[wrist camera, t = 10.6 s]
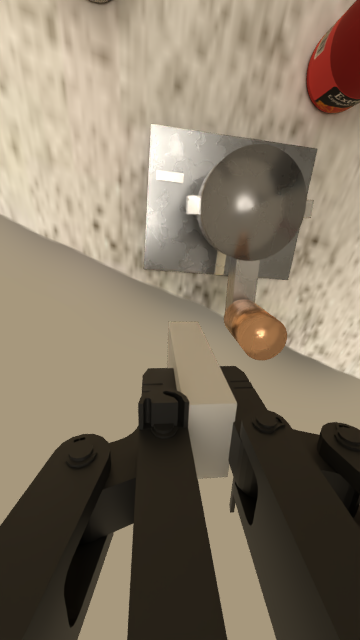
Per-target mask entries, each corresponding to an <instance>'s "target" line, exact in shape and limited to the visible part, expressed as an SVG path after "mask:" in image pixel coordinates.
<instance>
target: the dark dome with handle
mask: <svg viewBox="0 0 360 640" xmlns="http://www.w3.org/2000/svg"><path fill="white" fill-rule="evenodd" d="M313 202H314V200H307V192H306V185H305V181H304V177H303V175H302V172H301V170H300V169H299V167H298V165H297V164H296V162H295V161H294V160H293V159H292V158H291V157H290V156H289V155H288V154H287V153H285V152H284V151H283V150H281V149H279V148H277V147H274V146H271V145H266V144H252V145H247V146H244V147H241V148H239V149H237V150H235V151H233V152H231V153H230V154H228V155H227V156H226V157H225V158H224V159H222V160H221V161H220V162H219V163H218V164H217V165H216V166H215V167H213V168H212V170H211V171H210V172H209V173H208V175H207V176H206V178H205V179H204V181H203V183H202V185H201V188H200V191H199V194H198V196H194V195H188V196H186V214H192V215H197V219H198V223H199V227H200V229H201V232H202V234H203V235H204V237H205V239H206V240H207V241H208V243H209V244H210V245H211V246H212V247H213V248H215V249H216V250H217V251H219V252H221V253H223V254H225V255H228V256H230V261H229V273H228V284H227V296H226V308H225V315H224V323H225V326H226V328H227V329H228V330H229V332H230V333H231V334H232V336H233V337H234V338H235V339H236V341H237V342H238V343H239V345H240V346H241V347H242V349H243V350H244V351H245V353H246V354H247V355H248V356H249V357H251V358H253V359H255V360H267V359H270V358H272V357H274V356H276V355H277V354H278V353H280V352H281V350H282V349H283V347H284V346H285V344H286V340H287V331H286V328H285V326H284V325H283V324H282V323H281V322H280V321H279V320H277V319H276V318H275V317H273V316H272V315H270V314H269V313H268V312H266V311H265V310H264V309H262V308H261V307H260V306H258V305H257V304H255V296H256V288H257V279H258V271H259V263H260V260H261V259H265V258H268V257H270V256H272V255H274V254H276V253H277V252H279V251H280V250H282V249H283V248H284V247H285V246H286V245H287V244H288V243H289V242H290V241H291V240H292V238H293V237H294V236H295V234H296V233H297V231H298V229H299V227H300V225H301V223H302V220H303V218H311V213H312V208H313Z"/></svg>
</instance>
